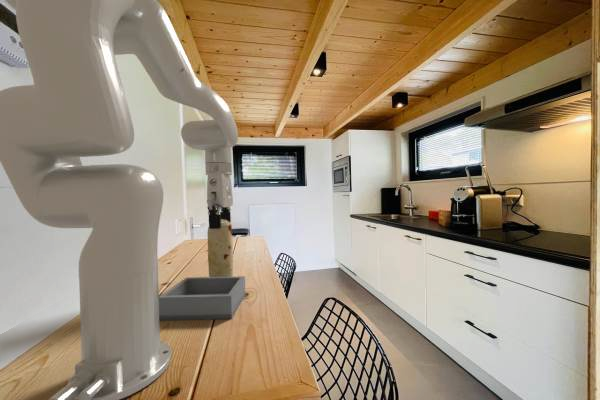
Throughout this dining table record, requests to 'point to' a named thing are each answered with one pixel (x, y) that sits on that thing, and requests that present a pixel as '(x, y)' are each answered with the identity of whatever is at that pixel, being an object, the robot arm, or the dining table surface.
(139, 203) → the robot arm
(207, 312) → the bin
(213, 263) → the food model
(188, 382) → the dining table surface
